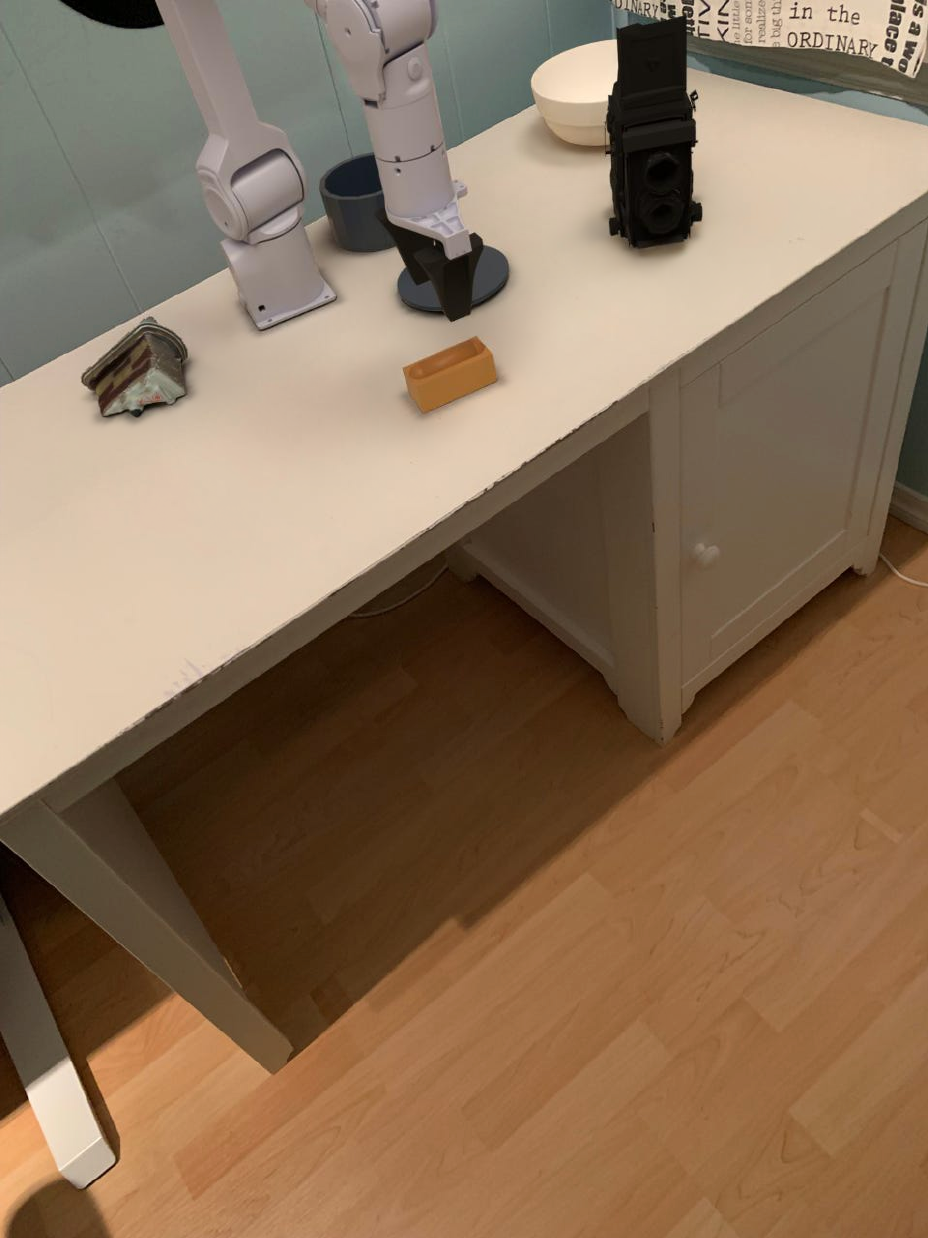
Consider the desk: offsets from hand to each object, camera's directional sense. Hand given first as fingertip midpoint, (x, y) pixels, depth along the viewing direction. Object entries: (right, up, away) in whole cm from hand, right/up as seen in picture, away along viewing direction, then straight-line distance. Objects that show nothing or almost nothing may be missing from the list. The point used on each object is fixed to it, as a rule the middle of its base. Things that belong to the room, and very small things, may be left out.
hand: (441, 297), depth 80 cm
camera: (+23, +13, +17) cm, 31 cm away
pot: (-8, +19, +28) cm, 35 cm away
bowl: (+21, +34, +33) cm, 52 cm away
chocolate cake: (-32, -6, +14) cm, 36 cm away
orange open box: (+1, -7, +5) cm, 9 cm away
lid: (+1, +8, +16) cm, 18 cm away
